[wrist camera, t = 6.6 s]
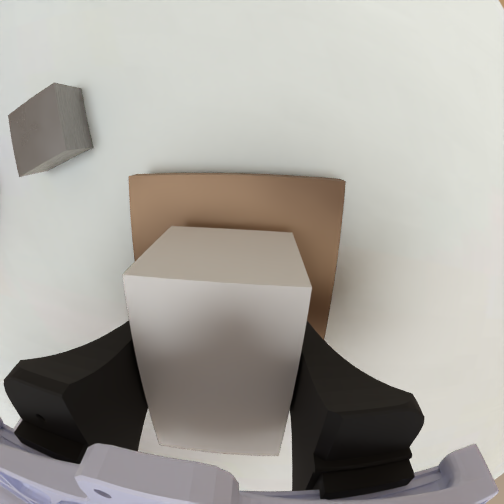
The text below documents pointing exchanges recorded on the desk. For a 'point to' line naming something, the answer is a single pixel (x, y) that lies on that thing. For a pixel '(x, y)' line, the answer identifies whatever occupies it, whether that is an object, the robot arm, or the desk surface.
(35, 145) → the grey block
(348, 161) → the desk surface
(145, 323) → the light grey rectangular block
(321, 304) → the tan curved panel
